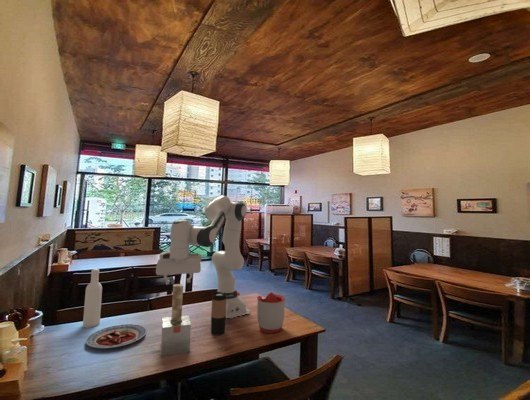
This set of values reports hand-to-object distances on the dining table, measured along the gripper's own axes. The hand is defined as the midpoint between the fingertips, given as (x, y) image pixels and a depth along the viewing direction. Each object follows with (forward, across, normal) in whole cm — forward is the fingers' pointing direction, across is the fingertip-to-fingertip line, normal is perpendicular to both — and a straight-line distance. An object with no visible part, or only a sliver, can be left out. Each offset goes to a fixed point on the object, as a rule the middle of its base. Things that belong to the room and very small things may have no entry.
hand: (178, 283), depth 123 cm
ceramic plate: (+30, +26, -18) cm, 43 cm away
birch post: (+21, 0, 0) cm, 21 cm away
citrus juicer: (+30, -50, -6) cm, 58 cm away
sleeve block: (+29, 0, 0) cm, 29 cm away
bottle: (+29, +42, -41) cm, 66 cm away
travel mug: (+30, -22, -10) cm, 38 cm away
